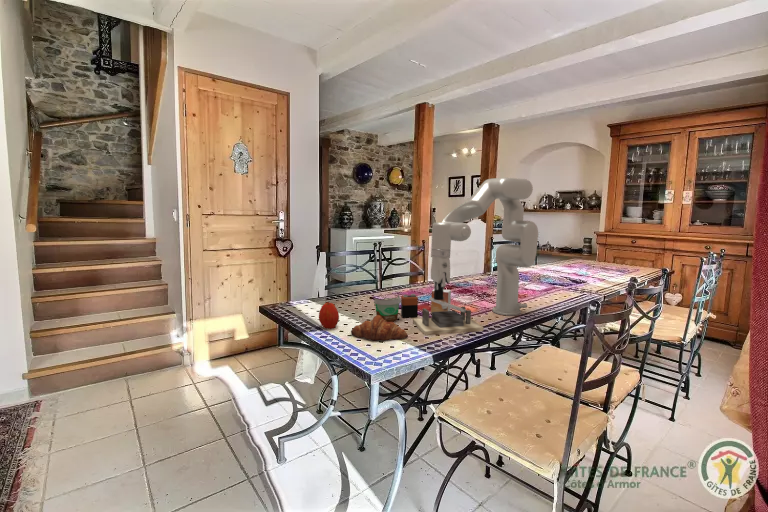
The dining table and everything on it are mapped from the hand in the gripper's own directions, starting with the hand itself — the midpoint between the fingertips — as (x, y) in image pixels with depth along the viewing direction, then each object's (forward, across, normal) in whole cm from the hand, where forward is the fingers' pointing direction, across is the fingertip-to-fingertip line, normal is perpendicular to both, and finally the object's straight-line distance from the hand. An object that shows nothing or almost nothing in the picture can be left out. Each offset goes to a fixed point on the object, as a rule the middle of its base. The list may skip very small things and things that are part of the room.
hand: (438, 299), depth 147 cm
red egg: (+13, +9, +42) cm, 46 cm away
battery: (+12, +18, +7) cm, 22 cm away
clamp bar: (+3, 0, -5) cm, 6 cm away
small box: (+11, +20, -9) cm, 25 cm away
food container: (+12, +12, +16) cm, 24 cm away
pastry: (+13, -5, +25) cm, 28 cm away
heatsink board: (+12, 0, -4) cm, 12 cm away
